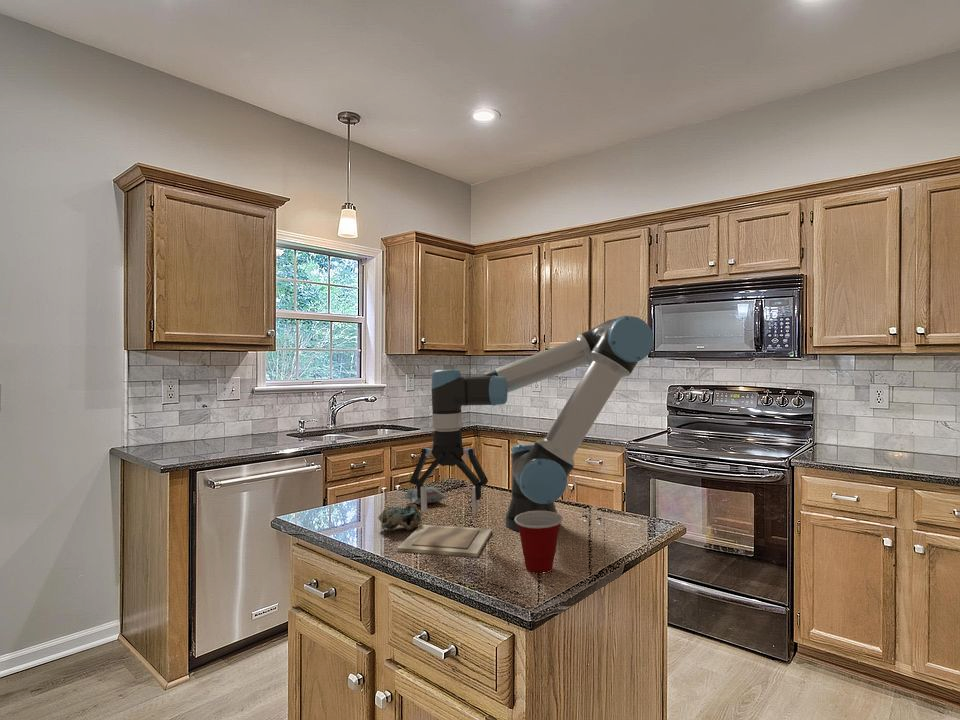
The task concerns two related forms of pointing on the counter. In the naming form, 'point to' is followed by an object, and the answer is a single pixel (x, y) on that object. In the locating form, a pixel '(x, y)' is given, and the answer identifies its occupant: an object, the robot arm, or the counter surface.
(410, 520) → the mineral specimen
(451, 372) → the robot arm
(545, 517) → the plastic cup
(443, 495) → the packaged food
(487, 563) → the counter surface
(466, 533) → the base plate
